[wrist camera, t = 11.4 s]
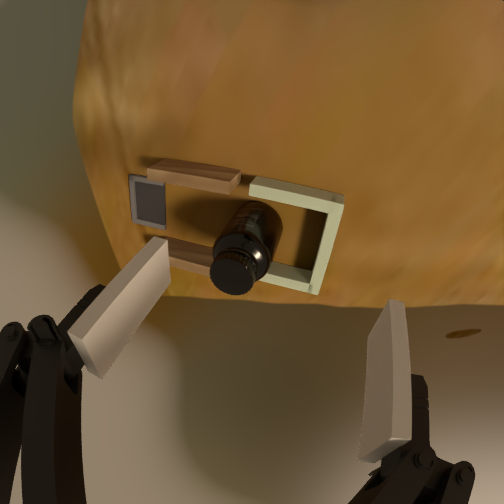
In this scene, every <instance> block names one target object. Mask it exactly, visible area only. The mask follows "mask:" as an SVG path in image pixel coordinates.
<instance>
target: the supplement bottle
mask: <svg viewBox="0 0 504 504" xmlns="http://www.w3.org/2000/svg"><path fill="white" fill-rule="evenodd" d="M282 231H283V225H282V221H281V218H280V216H279V214H278V213H277V212H276V211H275V210H274V209H273V208H272V207H270V206H268V205H266V204H264V203H260V202H251V203H247V204H245V205H243V206H241V207H240V208H239V209H238V210H237V211H236V212H235V214H234V215H233V216H232V218H231V219H230V221H229V222H228V223H227V225H226V226H225V228H224V229H223V231H222V232H221V234H220V235H219V236H218V238H217V239H216V241H215V243H214V245H213V250H212V256H213V263H212V265H211V266H210V270H209V272H210V274H209V275H210V278H211V280H212V282H213V283H214V285H215V286H216V287H217V288H218V289H219V290H220V291H223V292H224V293H227V294H231V295H241V294H245V293H247V292H248V291H250V289H251V288H252V287H253V284H254V282H256V281H258V280H260V279H261V278H263V277H264V276H265V275H266V274H267V272H268V271H269V269H270V266H271V263H272V261H273V258H274V255H275V252H276V250H277V247H278V244H279V241H280V238H281V235H282Z"/></svg>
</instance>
